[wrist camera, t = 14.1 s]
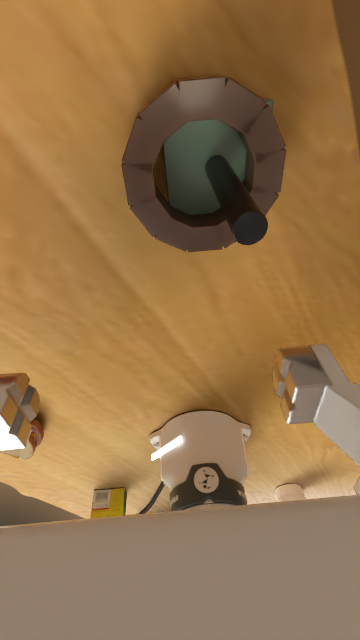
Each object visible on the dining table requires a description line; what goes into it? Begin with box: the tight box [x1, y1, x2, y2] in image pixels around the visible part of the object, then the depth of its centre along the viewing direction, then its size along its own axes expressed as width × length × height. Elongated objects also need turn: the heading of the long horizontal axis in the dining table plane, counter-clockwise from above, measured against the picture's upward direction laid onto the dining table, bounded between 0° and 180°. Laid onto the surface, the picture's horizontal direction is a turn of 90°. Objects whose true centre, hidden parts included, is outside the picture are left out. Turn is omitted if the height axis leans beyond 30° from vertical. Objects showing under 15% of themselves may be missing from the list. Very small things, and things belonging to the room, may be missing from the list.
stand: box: [163, 98, 273, 245], centre depth 23 cm, size 9×9×14 cm
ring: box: [122, 75, 286, 252], centre depth 26 cm, size 13×13×3 cm
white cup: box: [274, 484, 306, 502], centre depth 74 cm, size 8×8×10 cm
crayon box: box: [91, 488, 127, 518], centre depth 69 cm, size 7×3×12 cm, turn 94°
